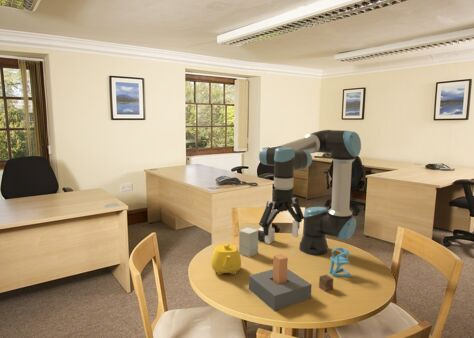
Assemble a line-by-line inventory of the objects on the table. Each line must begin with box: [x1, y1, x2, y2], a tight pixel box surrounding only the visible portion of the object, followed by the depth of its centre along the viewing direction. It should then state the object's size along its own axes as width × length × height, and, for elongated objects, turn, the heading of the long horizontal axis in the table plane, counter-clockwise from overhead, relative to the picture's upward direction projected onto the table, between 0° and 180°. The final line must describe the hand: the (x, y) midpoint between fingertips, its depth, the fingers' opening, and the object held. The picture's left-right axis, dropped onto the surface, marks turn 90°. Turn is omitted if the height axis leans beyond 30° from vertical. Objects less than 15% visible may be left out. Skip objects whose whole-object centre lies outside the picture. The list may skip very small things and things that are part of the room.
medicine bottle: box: [257, 222, 276, 245], centre depth 196 cm, size 7×7×12 cm
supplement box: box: [238, 226, 259, 258], centre depth 178 cm, size 7×7×13 cm
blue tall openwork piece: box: [328, 247, 352, 278], centre depth 158 cm, size 8×8×12 cm
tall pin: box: [272, 253, 289, 285], centre depth 139 cm, size 4×4×16 cm
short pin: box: [318, 274, 334, 293], centre depth 145 cm, size 4×4×5 cm
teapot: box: [210, 243, 242, 276], centre depth 157 cm, size 14×20×13 cm
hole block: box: [248, 268, 312, 311], centre depth 140 cm, size 18×18×6 cm
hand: (281, 239), depth 137 cm, fingers open, 13 cm apart
